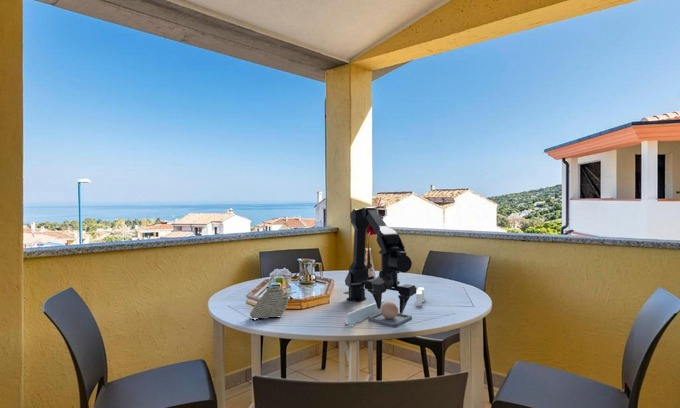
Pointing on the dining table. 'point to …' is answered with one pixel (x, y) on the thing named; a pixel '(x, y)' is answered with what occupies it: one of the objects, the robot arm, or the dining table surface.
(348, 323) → the acrylic wall
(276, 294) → the fossil tooth
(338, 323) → the dining table surface
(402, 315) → the coaster
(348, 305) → the dining table surface
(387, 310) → the ball
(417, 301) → the napkin holder
